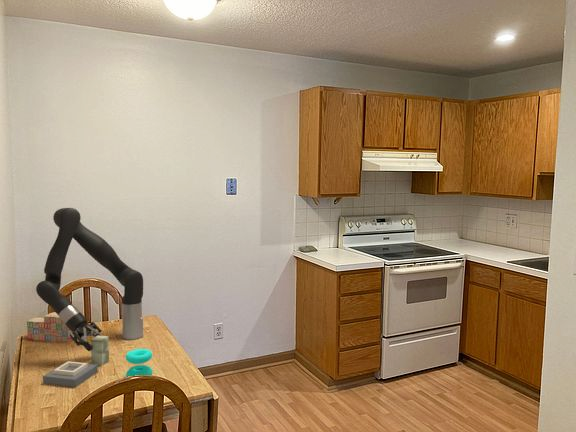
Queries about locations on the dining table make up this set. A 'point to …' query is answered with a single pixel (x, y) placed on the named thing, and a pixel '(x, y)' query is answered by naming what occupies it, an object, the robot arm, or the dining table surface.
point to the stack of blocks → (48, 329)
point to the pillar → (100, 350)
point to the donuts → (139, 362)
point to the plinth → (70, 374)
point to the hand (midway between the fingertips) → (97, 346)
